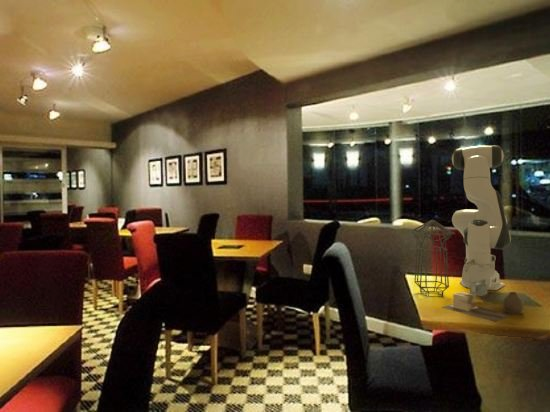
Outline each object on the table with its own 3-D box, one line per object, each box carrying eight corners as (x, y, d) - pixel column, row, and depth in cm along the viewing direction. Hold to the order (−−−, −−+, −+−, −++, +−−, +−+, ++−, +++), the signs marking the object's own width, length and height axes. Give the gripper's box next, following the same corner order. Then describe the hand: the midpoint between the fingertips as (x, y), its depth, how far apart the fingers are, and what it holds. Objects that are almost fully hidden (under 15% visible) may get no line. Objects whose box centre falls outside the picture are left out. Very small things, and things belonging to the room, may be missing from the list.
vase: (514, 318, 158) (515, 295, 157) (498, 313, 164) (499, 291, 164) (527, 316, 160) (527, 293, 160) (510, 311, 167) (511, 289, 166)
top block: (475, 291, 180) (475, 282, 180) (487, 294, 176) (487, 284, 176) (469, 293, 177) (469, 284, 177) (481, 296, 173) (481, 286, 173)
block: (461, 303, 174) (461, 291, 173) (475, 307, 169) (475, 294, 168) (453, 305, 170) (453, 294, 170) (466, 309, 165) (467, 297, 165)
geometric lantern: (420, 298, 186) (420, 221, 184) (409, 290, 201) (410, 219, 200) (455, 299, 185) (456, 221, 184) (442, 290, 201) (443, 219, 199)
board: (459, 304, 176) (459, 301, 176) (513, 317, 158) (513, 314, 158) (441, 309, 169) (441, 306, 169) (495, 324, 151) (495, 321, 151)
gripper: (472, 262, 167) (472, 296, 168) (497, 256, 179) (497, 287, 180) (458, 260, 172) (458, 292, 173) (483, 254, 184) (483, 284, 185)
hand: (478, 290), depth 177 cm, fingers closed on top block, 5 cm apart
